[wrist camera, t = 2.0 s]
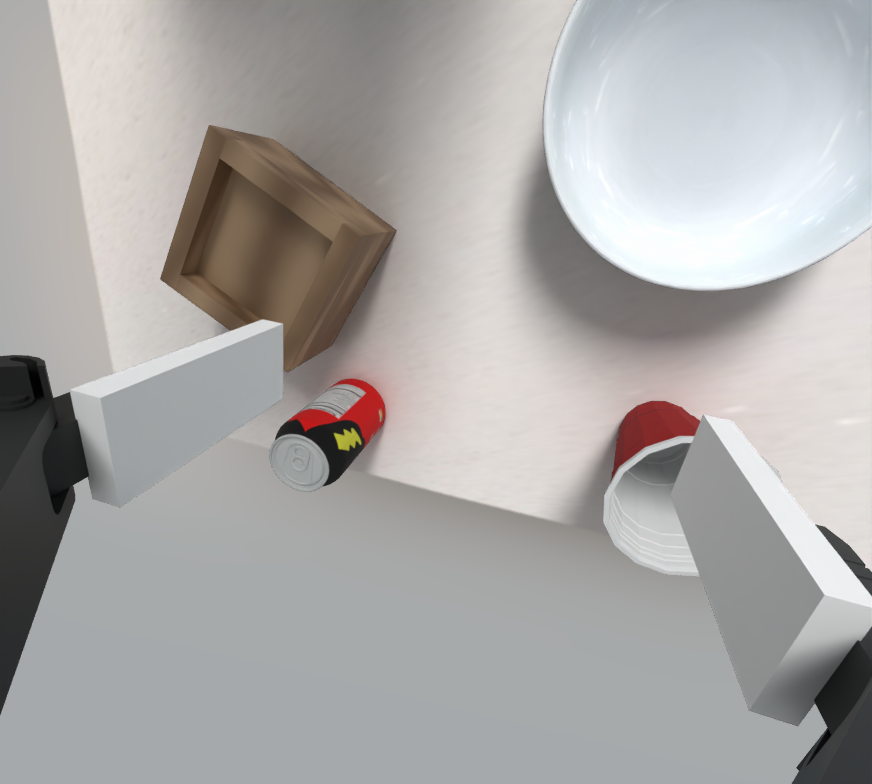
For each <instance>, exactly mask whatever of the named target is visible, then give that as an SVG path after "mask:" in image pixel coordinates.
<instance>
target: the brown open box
mask: <svg viewBox="0 0 872 784" xmlns="http://www.w3.org/2000/svg"><path fill="white" fill-rule="evenodd" d="M395 232H396V230H395V229H394V228H393V227H391V226H390V225H389V224H387V223H386V222H384V221H383V220H382V219H380V218H379V217H378V216H376V215H375V214H374V213H372V212H371V211H370V210H368V209H367V208H366V207H364V206H363V205H361V204H360V203H359V202H357V201H356V200H355V199H353V198H352V197H351V196H349V195H348V194H347V193H345V192H344V191H343V190H341V189H340V188H338V187H337V186H336V185H334V184H333V183H332V182H330V181H329V180H328V179H326V178H325V177H324V176H322V175H321V174H320V173H318V172H317V171H315V170H314V169H313V168H311V167H310V166H309V165H307V164H306V163H305V162H303V161H302V160H301V159H299V158H298V157H297V156H295V155H294V154H293V153H291V152H290V151H288V150H287V149H286V148H284V147H283V146H282V145H280V144H279V143H278V142H276V141H275V140H274V139H270V138H265V137H261V136H256V135H252V134H247V133H243V132H238V131H234V130H229V129H225V128H220V127H216V126H211V125H209V127H208V130H207V133H206V136H205V139H204V142H203V145H202V149H201V152H200V155H199V158H198V161H197V164H196V168H195V171H194V174H193V177H192V180H191V183H190V186H189V190H188V193H187V196H186V199H185V202H184V205H183V208H182V212H181V215H180V218H179V221H178V224H177V227H176V231H175V234H174V237H173V240H172V243H171V246H170V249H169V253H168V256H167V259H166V262H165V265H164V268H163V272H162V275H161V278H160V279H161V280H162V281H163V282H165V283H166V284H167V285H169V286H170V287H171V288H173V289H174V290H176V291H177V292H178V293H180V294H181V295H182V296H184V297H185V298H187V299H188V300H189V301H191V302H192V303H193V304H195V305H196V306H197V307H199V308H200V309H202V310H203V311H204V312H206V313H207V314H208V315H210V316H211V317H213V318H214V319H215V320H217V321H218V322H219V323H221V324H222V325H224V326H225V327H226V328H228V329H229V330H230V331H232V330H235V329H238V328H240V327H243V326H246V325H249V324H251V323H254V322H257V321H260V320H262V319H263V320H268V321H273V322H277V323H282V324H283V369H284V370H285V371H286V372H289V371H291V370H292V369H294V368H296V367H297V366H299V365H301V364H302V363H304V362H306V361H307V360H309V359H311V358H312V357H314V356H316V355H317V354H319V353H321V352H322V351H324V350H325V349H327V348H329V347H330V346H331V345H332V343H333V342H334V340H335V338H336V336H337V335H338V333H339V331H340V329H341V328H342V326H343V324H344V322H345V321H346V319H347V317H348V315H349V313H350V312H351V310H352V308H353V306H354V305H355V303H356V301H357V299H358V298H359V296H360V294H361V292H362V290H363V289H364V287H365V285H366V283H367V282H368V280H369V278H370V276H371V275H372V273H373V271H374V269H375V267H376V266H377V264H378V262H379V260H380V259H381V257H382V255H383V253H384V252H385V250H386V248H387V246H388V245H389V243H390V241H391V239H392V237H393V236H394V234H395Z"/></svg>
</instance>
